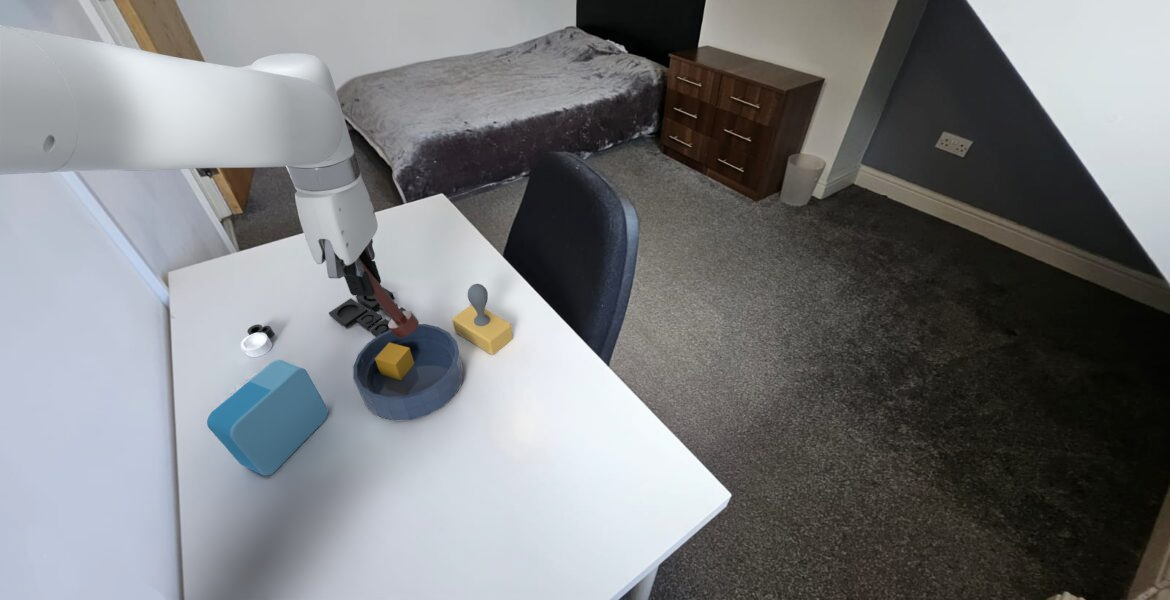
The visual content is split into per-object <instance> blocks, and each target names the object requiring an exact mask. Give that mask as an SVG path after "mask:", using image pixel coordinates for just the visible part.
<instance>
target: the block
mask: <svg viewBox="0 0 1170 600" xmlns="http://www.w3.org/2000/svg"><path fill="white" fill-rule="evenodd" d="M375 361H376V363H377V366H378V368H379V371H380V373H381V375H385V376H388V377H391V378H395V379H398V380H402V379H403V377H404V376H405V375H406V374H407V372H408V371H409V370H410V369H411V367H412V366H413V365H414V360H413V357H412V354H411V351H410V348H408V347H404V346H401V345H397V344H393V343H390V342H389V343H388V344H387V345H386V347H385V348H384V349H383V350H382V351H381V352H380V353H379V354H378V356H377V357H376V358H375Z"/></svg>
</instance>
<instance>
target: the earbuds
mask: <svg viewBox="0 0 1170 600" xmlns="http://www.w3.org/2000/svg"><path fill="white" fill-rule="evenodd" d="M382 287H383V288H384V290H385V291H386V292H387V294H388V295H389V296H390V297H391V299H392V300H393V301H394V300H395V298H396V297H395V295H394V293H393V292H392V291H390V290H389V289H387V288H385V287H384V286H382ZM355 299H356V300H354V299H353V298H351V297H350V298H349V299H347V300H345V301H344V302H342V303H341V304H339V305H338V306H337V307H335V308H333V309H332V310H330V311H329V312H328V315H329V317H331V318H332V319H333V320H335V321H336V322H338V323H339V324H341V325H342V326H344V328H349V327H350V326H352V325H353V324H355V323H358V324H359V325H360V326H362V327H363V328H365V329H366V330H370V332H371V334H372V335H373V336H374V337H375V338H376V337H377V336H378V335H380V334H382V333H384V332H386V331H389V330H391V329H390V328H389V327H388V324H389V322H390V320H388V319H387V318H384V317H383V316H382V315H381V314H379V313H378V312H379V310H380V311H381V312H384V313H385V314H387V313H386V311H385V310H384V309H383V308H382V306H381V305H380V304H379V303H378V302H377V300H376V299H375V298H374V297H373V296H355ZM395 304H396V305H397V306H398V307H399V305H398V303H396V302H395ZM399 309H400V310H401V311H406V310H407V309H405V308H404V307H402V306H401V307H399ZM246 332H247V334H248V335H247V336H246V337H244V338H243V339H242V340H241V342H240V348H241V350H242V352H244V353H245V354H246V356H247V357H249V358H259V357H262V356H264V355H266V354H267V353H268V352H269V351H270V350H271V349H272V347H273V342H272V341H271V339H272V338H273V337H274V336H275V332H274V330H273V329H272V327H271V326H270V325H264V326H262V324H259V323H258V324H254V325H251V326H250V327H249V328H247V330H246Z"/></svg>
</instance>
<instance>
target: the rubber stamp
mask: <svg viewBox="0 0 1170 600" xmlns="http://www.w3.org/2000/svg"><path fill="white" fill-rule="evenodd" d="M488 294H489V293H488V290H487V288H486V287H485V286H484V285H483V284H480V283H474V284H471V286H470V287H469V288H468V289H467V300H468V301H469V304H470V305H468V306H467V307H466V308H465V309H463V310H462V311H460V312H459V313H457V314H455V315H454V316H453V317H452V323H453V328H454V333H457V334H458V335H459V336H461V337H463V338H464V339H466V340H468V341H469V342H470V343H472V344H474V345H475V346H476V347H478V348H479V349H482V350H483V351H485V352H486V353H488V354H490V355H492V356H493V355H495V354H496V353H498V351H500V350H501V349H502V348H503V347H505V346H506V345H507V344H508V343H509V342H511V341H512V340H513V329H512V324H511V323H510V322H509V321H507V320H505V319H503V318H501V317H499V316H498V315H496V314H494V313H493V312H492V311H489V310H488V309H487V308H486V306H487V303H488V299H489V298H488V297H489V296H488Z"/></svg>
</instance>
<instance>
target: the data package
mask: <svg viewBox="0 0 1170 600" xmlns="http://www.w3.org/2000/svg"><path fill="white" fill-rule="evenodd" d="M309 374H310V373H308V371H307V369H305V368H303V367H300V366H298V365H295V364H293V363H290V362H288V361H286V360H282V359H277V360H274V361H271V362H270V363H269V364H268V365H267V366H265V367H264V368H263V369H262V370H260V372H258V373H257V374H256V375H254V377H252V378H251V379H250V380H249V381H247V382H246V383H244V385H242V387H239V389H237V390H236V392H234V393H233V394H231V396H229V397H228V398H226V399H225V401H223V402H222V403H221V404H219V405H218V406H216V408H215V409H214V410H213V411H211V413H210V414H209V415H208V417H207V420H206V425H207V428H208V429H209V430H210V431H211V433H212V434H213V435H214V436H215V437H216V438H217V440H218V441H219V442H220V444H222V445H223V446H224V447H225V449H227V451H228V452H229V453H230V455H232V456H233V457H234V459H235V460H236V461H237V462H238V463H239V465H241V466H243V467H245V468H247V469H249V470H252V471H254V472H255V473H258V474H260V475H262V476H270V475H272V474H274V473H275V472H276V471H277V470H278V469H280V467H281V466H282V465H283V464H285V462H286V461H287V460H288V459H289V458H290V457H291V456H292V455H293V454H294V453H295V452H296V451H297V450H298V449H299V448H300V447H301V445H302V444H303V443H305V442H306V440H308V438H309V437H311V435H313V433H314V432H315V431H316V430H317V429H318V428H319V427H320V426H321V425H322V424H323V423H324V422H325V420H326V419H327V418H328V414H329V409H328V406H327V405H326V403H325V401H324V399H323V397H322V395H321V394H320V392H319V390H318V388H317V387H316V385H315V384H314V381H313V380H312V378H311V376H310V375H309Z"/></svg>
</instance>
